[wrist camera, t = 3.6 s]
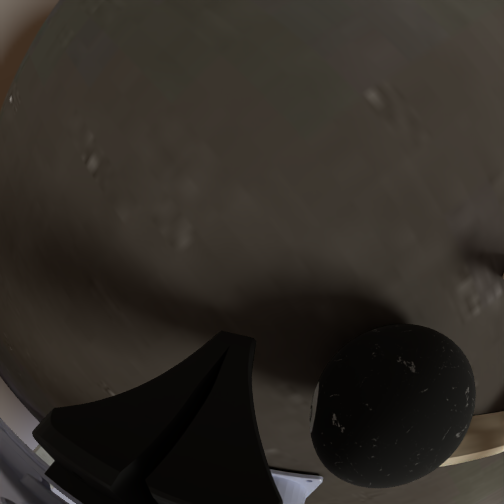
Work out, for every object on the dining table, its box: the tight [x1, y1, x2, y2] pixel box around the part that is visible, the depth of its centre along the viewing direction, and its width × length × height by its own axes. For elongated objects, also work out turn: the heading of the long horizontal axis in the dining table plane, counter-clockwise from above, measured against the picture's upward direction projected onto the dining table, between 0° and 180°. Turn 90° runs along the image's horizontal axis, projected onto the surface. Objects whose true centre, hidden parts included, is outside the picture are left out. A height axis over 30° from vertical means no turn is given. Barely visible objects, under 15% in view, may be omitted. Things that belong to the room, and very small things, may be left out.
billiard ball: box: [310, 324, 476, 488], centre depth 7 cm, size 6×6×6 cm
